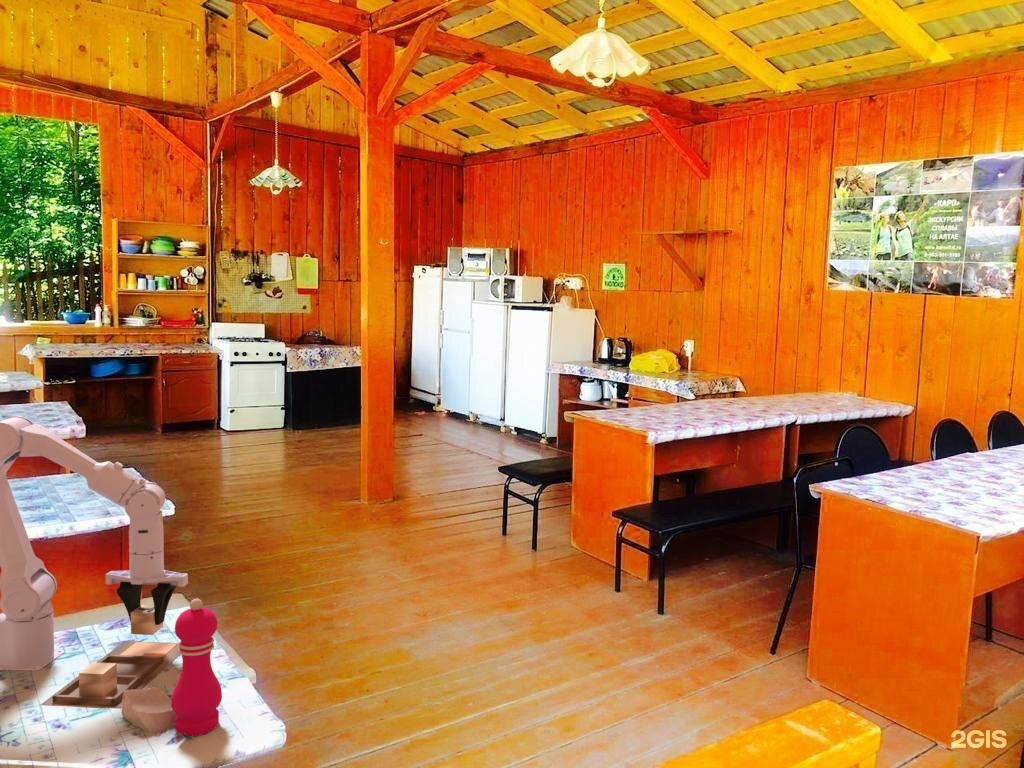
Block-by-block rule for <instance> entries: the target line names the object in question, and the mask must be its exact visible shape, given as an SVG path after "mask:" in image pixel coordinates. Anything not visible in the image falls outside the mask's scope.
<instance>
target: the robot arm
mask: <svg viewBox="0 0 1024 768" xmlns="http://www.w3.org/2000/svg"><path fill="white" fill-rule="evenodd" d="M18 457H20V458H21V457H23V458H25V457H43V458H46V459H47V460H50V461H52V462H53V463H56V464H58V465H60V466H61V467H63V468H66V469H67V470H69V471H71V472H74V473H75V474H76V475H79V476H81V477H83V478H84V479H86V482H87V487H88V489H89V490H91V491H93V492H94V493H96V494H98V495H100V496H102V497H103V498H105V499H106V500H108V501H110V502H112V503H114V504H116V505H117V506H120V507H123V508H124V510H125V513H126V515H127V516H128V517H129V528H128V545H129V548H128V551H129V553H128V554H129V559H128V560H129V569H128V570H125V569H124V570H111V571H109V572H106V574H105V585H113V584H119V587H117V589H116V594H117V595H118V597H119V599H120V600H121V602H122V603H123V605H124V607H125V610H126V612H127V615H128V618H129V621H130V623H131V612H133V611H134V610H135V609H137V608H138V607H140V606H141V605H142V604H141V602H142V601H141V599H142V591H143V585H151V586H152V585H154V586H155V585H157V586H156V587H154V588H152V589H151V590H150V594H151V596H152V601H153V605H154V609H155V625H160V624H161V623H162V622H163V623H164V622H165V618H166V615H167V614H166V612H167V609H168V606H169V603H170V600H171V598H172V596H173V594H174V592H175V590H176V588H184V587H186V586H187V585H188V584H189V574H188V573H184V572H183V573H182V572H176V571H172V570H171V571H170V570H166V569H165V563H164V562H165V555H164V552H165V551H164V550H165V549H164V546H165V545H164V544H165V543H164V542H165V541H164V522H163V520H164V515H163V510H161V509H162V508H163V507H164V505H165V502H166V493H165V490H164V489H163V488H162V487H160V486H159V485H158V484H157V482H154V481H153V482H152V481H147V479H146V478H144V477H141V478H139V477H137V476H135V475H134V474H132V473H131V472H129V471H127V470H125V469H124V468H123V467H124V465H123V464H122V463H121V462H119V461H116V462H115V463H113V462H111V461H109V460H108V461H104V462H98V461H96V460H95V459H93V458H92V457H90V456H89V455H87V454H85V453H84V452H82V451H81V450H79V449H78V448H76V447H75V446H73V445H71V444H70V443H69V442H67V441H65V440H64V439H63V438H61V437H59V436H57V435H56V434H54V433H53V432H52V431H50V430H49V429H47V427H45V426H43V425H41V424H38V423H36V422H35V423H34V422H33V421H32V420H31V419H29V418H27V417H25V416H20V415H14V416H9V417H7V418H5V419H3V420H0V568H1V572H0V592H1V594H0V595H1V597H0V610H1V613H0V671H3V672H5V671H7V670H10V671H11V670H14V671H30V672H31V671H33V672H34V671H36V672H37V671H40V670H42V669H43V668H44V667H46V666H48V664H50V663H52V662H53V661H55V660H56V659H58V658H59V657H61V656H63V655H64V654H65V653H66V651H65V650H58V649H57V650H55V632H54V631H55V630H54V629H55V627H54V624H55V623H54V622H55V621H54V607H53V604H52V603H51V599H52V598H53V597H54V596H55V594H56V593H57V592H56V591H57V587H58V583H57V580H56V578H55V577H54V575H53V574H52V573H50V571H48V570H47V568H46V566H45V563H44V561H43V560H42V559H40V558H39V557H37V556H36V554H35V552H34V550H33V547H32V543H31V541H30V538H29V535H28V533H27V530H26V527H25V524H24V521H23V520H22V519H23V518H22V517H21V514H20V510H19V508H18V505H17V502H16V500H15V497H14V494H13V491H12V489H11V486H10V483H9V480H8V478H7V473H8V470H9V469H10V468H11V467H12V465H13V464H14V463H15V461H16V460H17V458H18Z"/></svg>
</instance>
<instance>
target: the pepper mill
mask: <svg viewBox="0 0 1024 768" xmlns="http://www.w3.org/2000/svg"><path fill="white" fill-rule="evenodd" d="M217 630H218V618H217V616H216V614H215V612H214V611H212V610H211V609H209V608H207V607H203V601H202V600H201V599H200V598H194V599H192V600H191V601H190V603H189V608H188V609H185V610H184V611H183V612H181V613H180V614H179V615H178V617H177V619H176V620H175V624H174V633H175V635H176V637H177V638H178V639H179V642H178V643H179V644H178V645H179V653H180V655H181V658H182V664H181V666H182V667H181V670H180V674H179V676H178V679H177V681H176V684H175V686H174V687H173V690H172V694H171V698H170V699H171V707H172V709H173V711H174V712H175V713H176V714H177V715H176V717H175V723H174V729H175V731H176V732H178V733H180V734H183V737H197V736H202V735H205V734H208V733H211V732H212V731H214V730H215V729H216V728H217V727H218V725H219V721H220V718H219V717H220V715H219V714H220V713H219V710H218V709H217V708H218V707H219V706H220V705H221V702H222V699H223V693H222V692H223V691H222V687H221V684H220V681H219V679H218V678H217V676H216V674H215V672H214V670H213V667H212V663H211V661H212V660H211V654H212V651H213V649H214V648H215V644H214V642H215V638H214V637H213V636H214V634H215V633H216V632H217Z"/></svg>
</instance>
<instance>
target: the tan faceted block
mask: <svg viewBox="0 0 1024 768" xmlns="http://www.w3.org/2000/svg"><path fill="white" fill-rule="evenodd" d="M171 699H172V698H170V697H169V696H168V695H167V694H166V693H165V692H164V691H162V689H161V688H160V687H150V688H149V687H146V688H145V687H144V688H143V689H138V690H136V689H135V690H125V691H124V693H123V699H122V708H121V715H122V717H123V719H124V720H126V721H129V722H130V723H131V724H133V725H134V726H136V727H139V728H140V729H141V730H145V731H147V732H150V733H154V732H156V731H160V730H162V729H165V728H168V727H170V726H172V725H175V717H176V715H177V714H176V713H175V712H174V711H173V709H172V707H171Z"/></svg>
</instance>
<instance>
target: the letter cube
mask: <svg viewBox="0 0 1024 768" xmlns="http://www.w3.org/2000/svg"><path fill="white" fill-rule="evenodd" d="M140 605H141V606H140V607H138V608H137V609H135V610H134V611H133V612H131V622H130V634H131V635H142V636H143V635H144V636H146V635H148V636H153V635H154V634H156V633H157V632H158V631H159V630H161V629H162V628H163V627H164V622H162V623H161V624H160V625H155V609H154V604H153V605H152V604H140Z"/></svg>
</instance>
